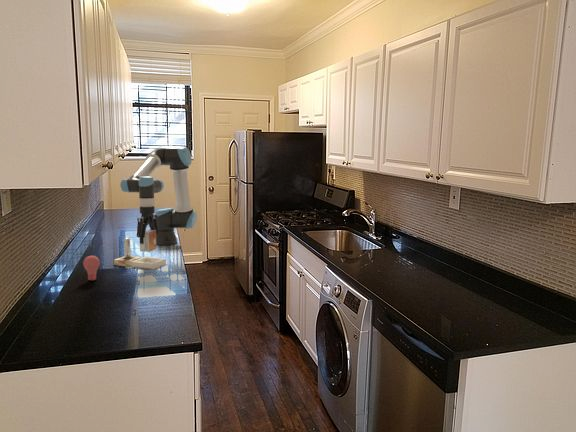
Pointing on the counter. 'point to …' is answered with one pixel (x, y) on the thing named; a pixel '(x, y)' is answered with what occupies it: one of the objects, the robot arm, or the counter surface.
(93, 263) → the light bulb
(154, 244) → the small box
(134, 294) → the counter surface
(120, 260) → the tan square ring
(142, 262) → the tray
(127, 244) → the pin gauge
